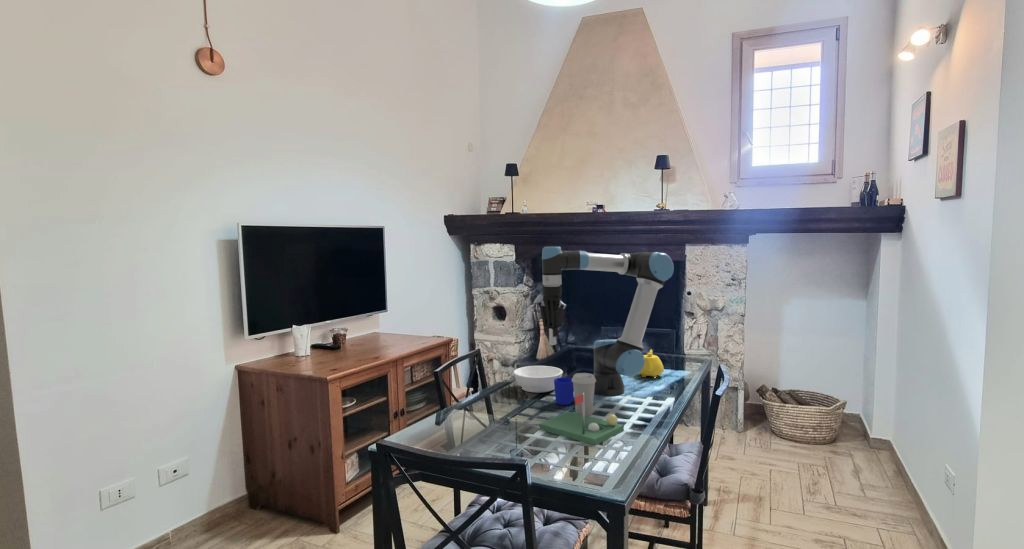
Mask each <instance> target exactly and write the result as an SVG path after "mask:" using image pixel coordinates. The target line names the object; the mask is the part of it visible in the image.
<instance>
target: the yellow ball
mask: <svg viewBox="0 0 1024 549" xmlns="http://www.w3.org/2000/svg"><path fill="white" fill-rule="evenodd" d="M605 420H606V422H607V423H608V424H609V425H610V426H614V425H616V424H617V423H618V422H619V421H618V417H617V416H616V415H615V414H612V413H610V414H607V416H606V418H605Z"/></svg>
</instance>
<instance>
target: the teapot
mask: <svg viewBox="0 0 1024 549" xmlns="http://www.w3.org/2000/svg"><path fill="white" fill-rule="evenodd" d="M643 355H644V358H645V364H644V367H643V369H642V370H641V372H640V373H638V374H639V375H641V376H642V377H646V378H647V376H648V377H652V378H653V377H658V376H660V375H662V373H663V372H664V371H665V369H664V368H665V367H664V365H663V362H662V360H661V359H660V357H659V356H658V355H655V354H653V349H650V350H649V352H646V354H643ZM657 375H658V376H657ZM642 377H641V378H642Z"/></svg>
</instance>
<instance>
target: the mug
mask: <svg viewBox="0 0 1024 549" xmlns="http://www.w3.org/2000/svg"><path fill="white" fill-rule="evenodd" d="M554 387H555V389H554V395H555V403H556V404H557V405H560V406H569V405H571V404H573V400H574V401H575V398H574V388H573V382H572V378H571V377H564V376H563V377H562V376H561V378H556V379H554Z"/></svg>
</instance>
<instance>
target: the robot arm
mask: <svg viewBox="0 0 1024 549" xmlns="http://www.w3.org/2000/svg"><path fill="white" fill-rule="evenodd" d="M541 251H542V252H541V262H542V263H541V264H542V268H541V269H542V285H543V286H542V295H543V297H542V301H540V302H538V303H537V305H538V307H539V308H540V313H541V314H540V315H541V320H542V324H543V327H546V328H547V336H548V343H549V344H548V345H549V346H554V345H555V346H556V345H557V337H558V334H559V333H558V330H559V329H560V328H561V327H563V322H564V316H565V312H566V308H567V306H568V305H567V304H566V303H564V302H563V300H562V297H561V296H562V289H563V288H562V285H563V284H562V283H563V282H562V281H563V280H562V271H569V270H570V271H571V270H574V271H576V270H578V271H580V270H582V271H583V270H584V271H598V272H599V271H600V272H611V273H612V272H615V273H618V274H619V275H626V276H630V277H635V278H636V282H637V287H636V290H635V294H634V296H633V298H632V299H633V300H632V302H631V305H630V310H629V313H628V315H627V318H626V321H625V325H624V328H623V331H622V333H621V336H620V337H618V338H617V339H615V338H612V339H610V338H609V339H599V340H595V341H594V343H593V375H594V377H595V379H596V382H595V388H594V395H595V394H596V395H599V396H600V395H601V396H618V395H622V394H624V393H625V389H626V388H625V384H624V381H623V378H622V376H624V377H625V376H626V377H634V376H637V375H638V374H639V373H640V372H641V370H642V369H643V367H644V364H645V358H644V355H645V354H643V351H644V345H643V344H642V341H643V339H644V336H645V332H646V330H647V326H648V323H649V320H650V317H651V313H652V310H653V308H654V304H655V300H656V298H657V294H658V292H659V290H660V289H662V288H663V287H664V285H665V282H666V281H668V280H669V279H671V277H672V276H673V274H674V271H675V270H674V269H675V267H674V265H675V264H674V262H673V260H672V258H671V256H670V255H668V254H667V253H665V252H659V251H653V252H652V251H651V252H649V251H639V252H628V253H626V252H621V253H619V254H612V253H611V254H609V253H598V252H597V253H595V252H587V251H585V250H562V247H561V246H544V247H543V248H542V250H541Z"/></svg>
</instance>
